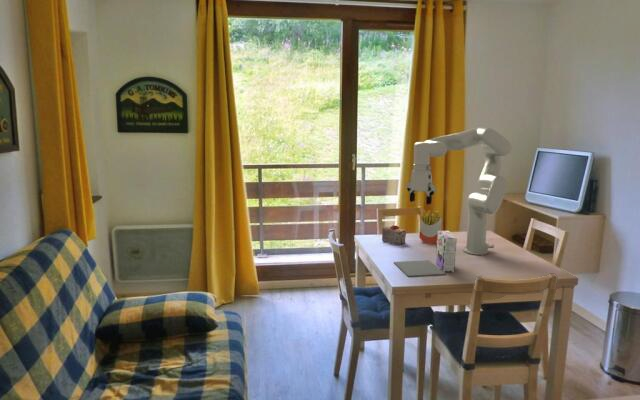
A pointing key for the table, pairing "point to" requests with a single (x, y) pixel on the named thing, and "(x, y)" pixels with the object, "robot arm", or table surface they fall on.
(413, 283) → the table surface
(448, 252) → the candy box
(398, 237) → the food item
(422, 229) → the french fries container
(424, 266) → the mat
